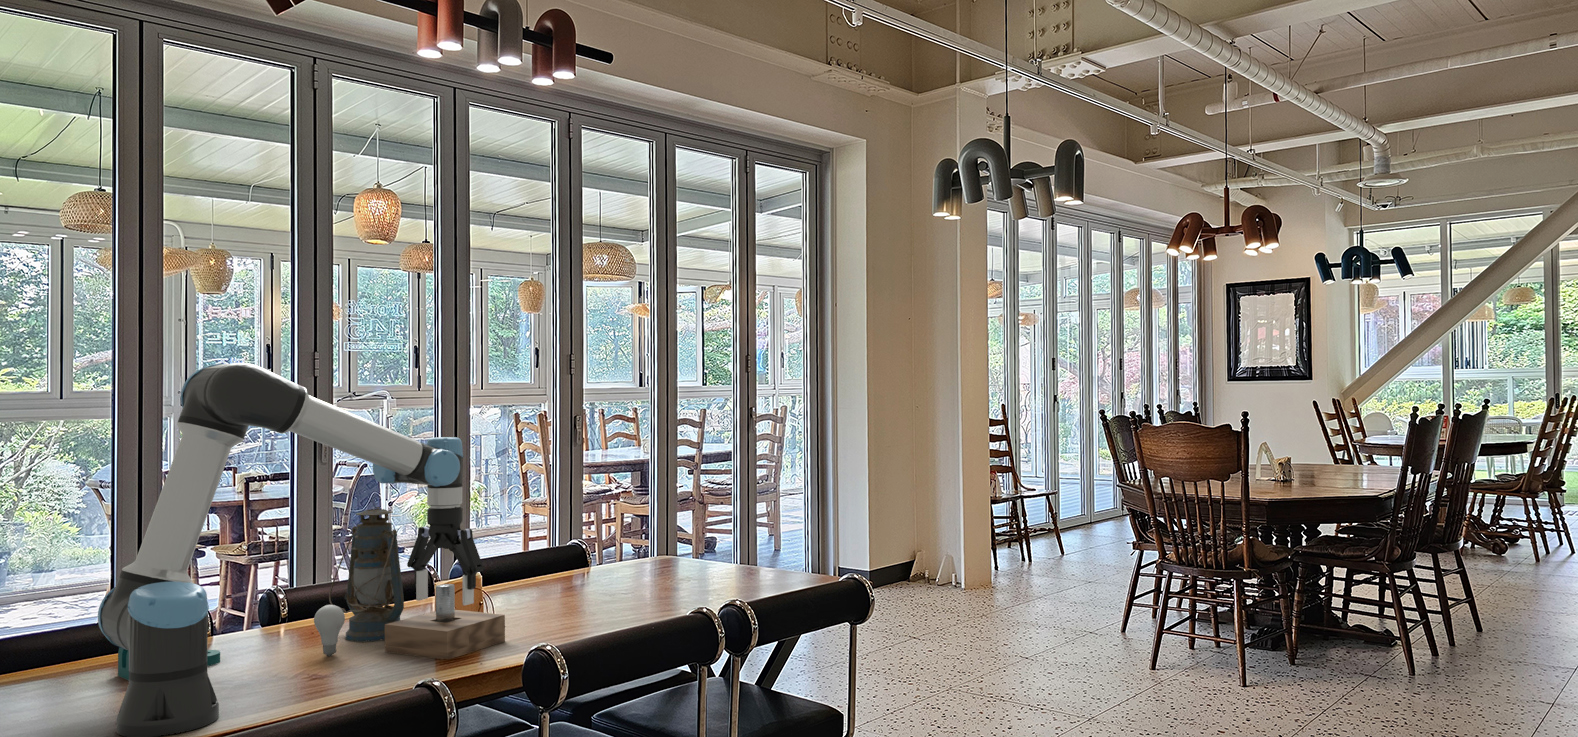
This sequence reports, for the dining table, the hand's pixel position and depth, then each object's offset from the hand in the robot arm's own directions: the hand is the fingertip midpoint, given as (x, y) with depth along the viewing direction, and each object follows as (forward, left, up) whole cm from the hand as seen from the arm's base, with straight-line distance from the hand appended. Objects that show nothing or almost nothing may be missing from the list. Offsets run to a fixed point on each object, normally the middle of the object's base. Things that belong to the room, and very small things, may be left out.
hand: (444, 601), depth 232 cm
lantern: (+1, +24, -10) cm, 26 cm away
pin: (0, 0, -8) cm, 8 cm away
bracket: (-37, +39, -10) cm, 55 cm away
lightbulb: (-16, +17, -10) cm, 26 cm away
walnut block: (0, 0, -10) cm, 10 cm away
